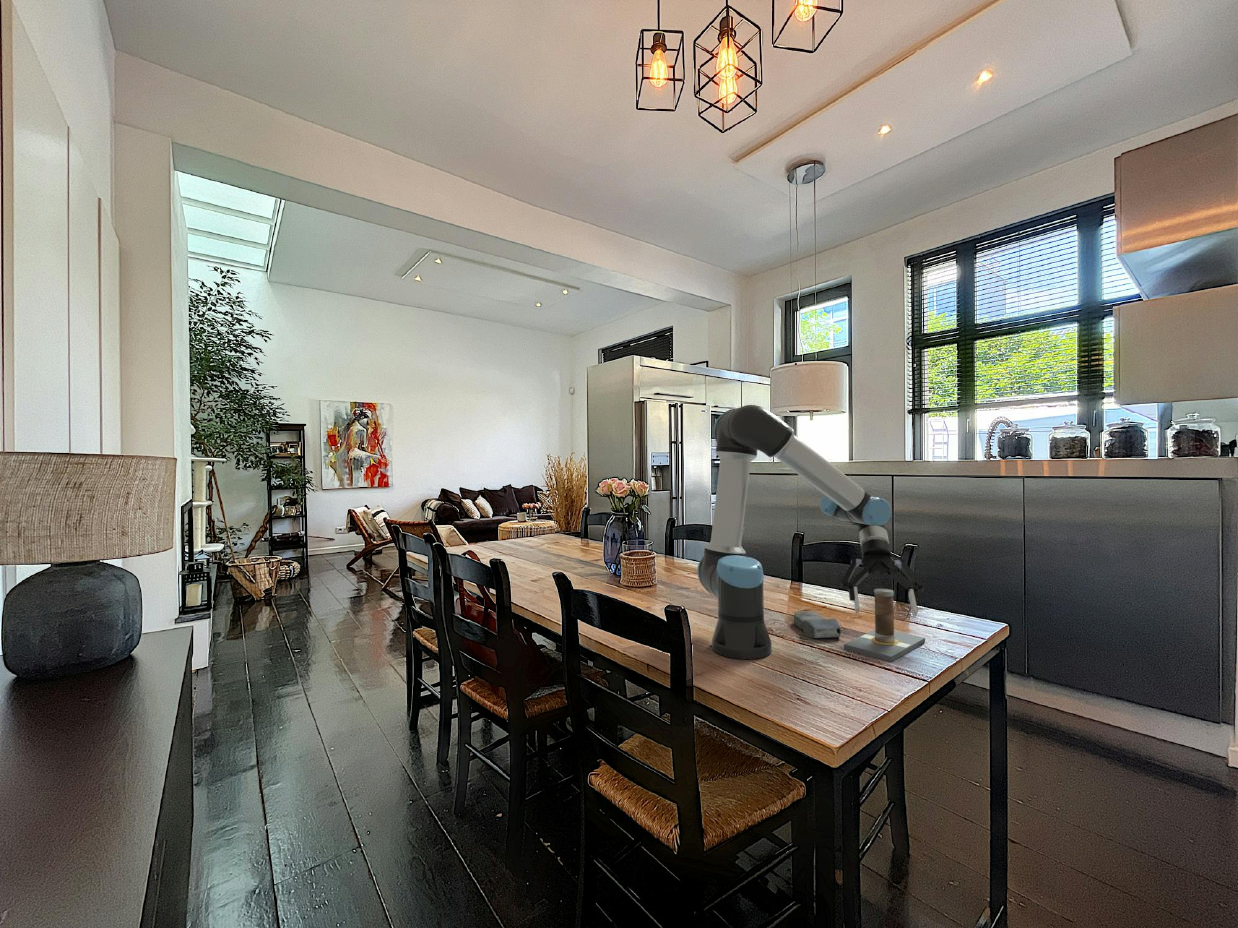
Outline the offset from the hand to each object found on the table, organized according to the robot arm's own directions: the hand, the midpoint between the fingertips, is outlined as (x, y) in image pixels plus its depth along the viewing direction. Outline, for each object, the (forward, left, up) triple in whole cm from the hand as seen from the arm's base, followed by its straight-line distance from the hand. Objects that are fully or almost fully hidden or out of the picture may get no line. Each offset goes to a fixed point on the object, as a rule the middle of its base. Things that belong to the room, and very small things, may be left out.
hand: (886, 612), depth 139 cm
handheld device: (-17, +12, -9) cm, 23 cm away
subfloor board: (0, +1, -9) cm, 9 cm away
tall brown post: (0, +1, -8) cm, 8 cm away
